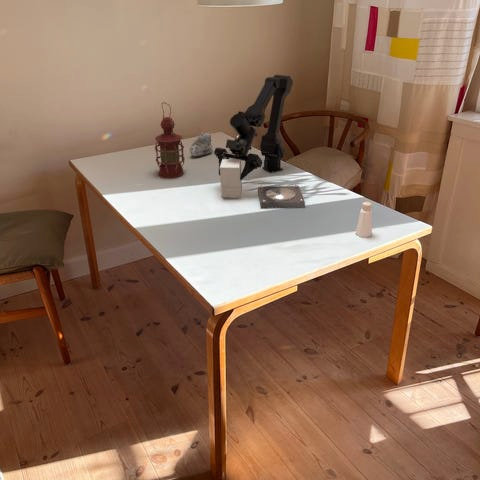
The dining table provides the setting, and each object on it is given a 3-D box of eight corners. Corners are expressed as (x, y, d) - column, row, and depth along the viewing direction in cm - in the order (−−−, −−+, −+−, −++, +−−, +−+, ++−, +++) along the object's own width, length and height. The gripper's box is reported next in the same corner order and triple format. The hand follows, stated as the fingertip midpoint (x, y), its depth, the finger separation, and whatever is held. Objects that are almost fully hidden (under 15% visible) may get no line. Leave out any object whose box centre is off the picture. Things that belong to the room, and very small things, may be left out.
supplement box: (242, 189, 203) (241, 159, 196) (240, 198, 196) (239, 167, 190) (223, 188, 203) (222, 158, 196) (220, 197, 197) (219, 167, 190)
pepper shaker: (360, 228, 174) (363, 198, 169) (375, 233, 171) (378, 202, 166) (352, 234, 171) (355, 203, 165) (367, 239, 168) (371, 208, 162)
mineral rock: (191, 159, 238) (190, 138, 233) (183, 152, 246) (182, 132, 242) (217, 155, 243) (217, 134, 238) (209, 149, 251) (208, 128, 246)
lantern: (190, 175, 220) (186, 103, 206) (165, 181, 214) (159, 108, 200) (177, 167, 229) (172, 97, 215) (151, 172, 223) (145, 102, 209)
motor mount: (257, 191, 204) (257, 185, 202) (298, 190, 204) (299, 184, 203) (260, 208, 189) (260, 201, 188) (304, 207, 190) (305, 200, 189)
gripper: (215, 126, 196) (199, 163, 193) (258, 133, 187) (243, 172, 184) (227, 141, 206) (212, 176, 203) (268, 148, 197) (254, 185, 194)
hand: (229, 177), depth 196 cm, fingers closed on supplement box, 9 cm apart
